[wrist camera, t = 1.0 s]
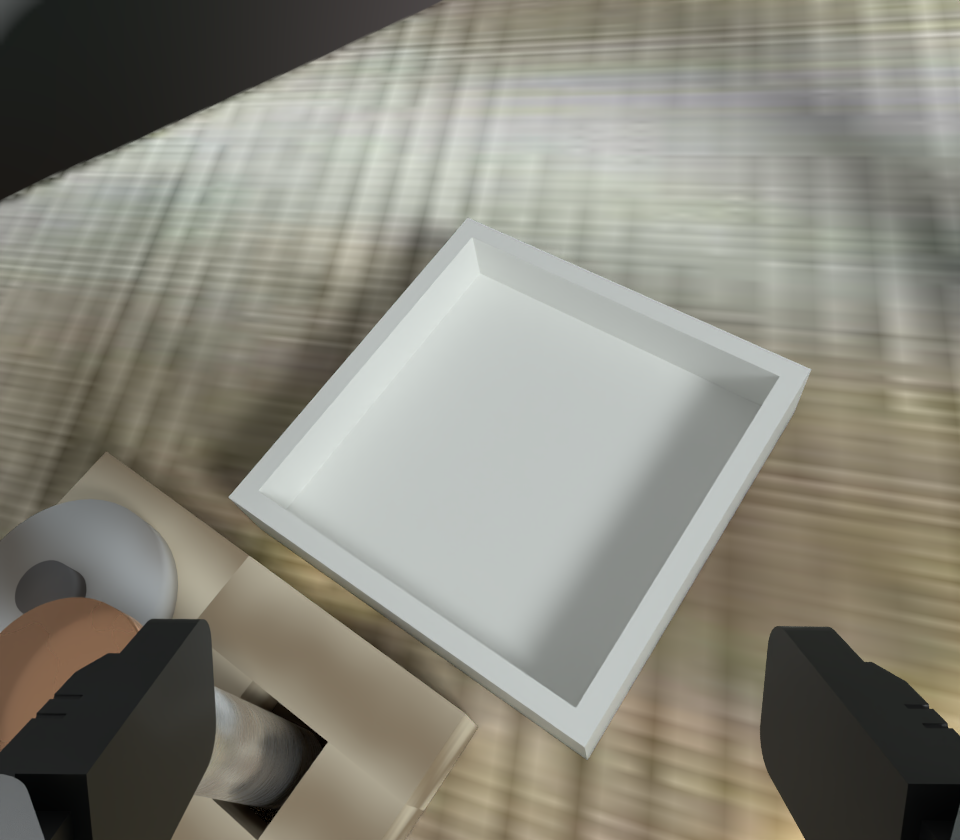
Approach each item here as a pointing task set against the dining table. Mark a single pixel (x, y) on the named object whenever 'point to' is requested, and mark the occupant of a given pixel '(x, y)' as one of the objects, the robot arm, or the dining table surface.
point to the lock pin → (104, 629)
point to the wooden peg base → (247, 656)
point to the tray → (526, 471)
